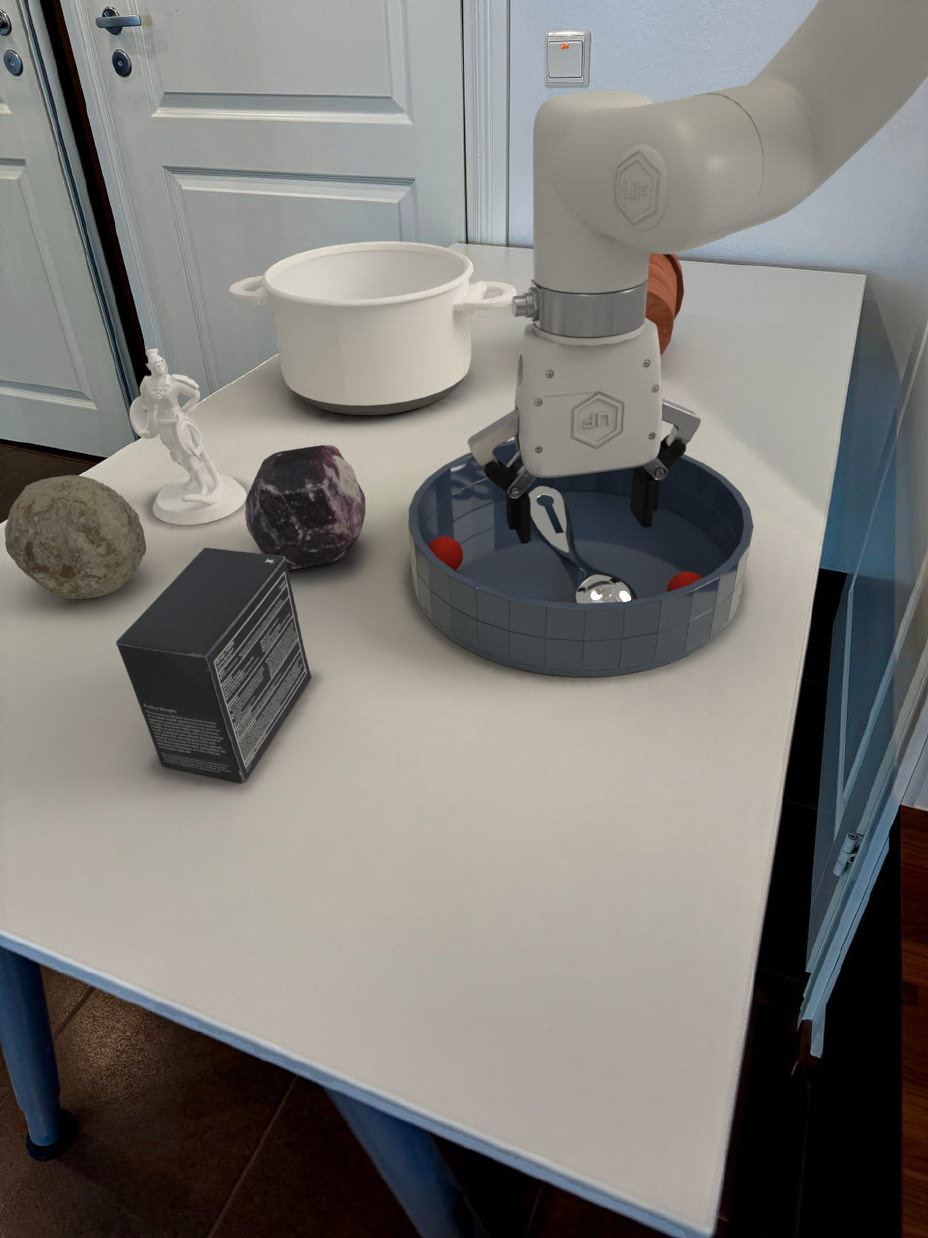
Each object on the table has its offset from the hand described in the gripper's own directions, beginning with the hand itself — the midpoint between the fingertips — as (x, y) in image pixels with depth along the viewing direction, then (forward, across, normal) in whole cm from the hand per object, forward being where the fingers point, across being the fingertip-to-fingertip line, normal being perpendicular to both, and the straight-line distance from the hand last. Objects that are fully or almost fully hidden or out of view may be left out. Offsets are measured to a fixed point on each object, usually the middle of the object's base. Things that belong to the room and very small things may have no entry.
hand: (581, 526), depth 69 cm
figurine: (+4, -32, +20) cm, 38 cm away
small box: (+5, -27, -12) cm, 30 cm away
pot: (+4, -13, +43) cm, 45 cm away
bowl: (+4, 0, 0) cm, 5 cm away
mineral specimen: (+4, -21, +8) cm, 23 cm away
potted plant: (+4, +20, +54) cm, 57 cm away
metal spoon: (+4, 0, +1) cm, 4 cm away
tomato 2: (+3, +6, -7) cm, 10 cm away
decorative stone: (+4, -39, +7) cm, 40 cm away
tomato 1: (+2, -11, +2) cm, 11 cm away
